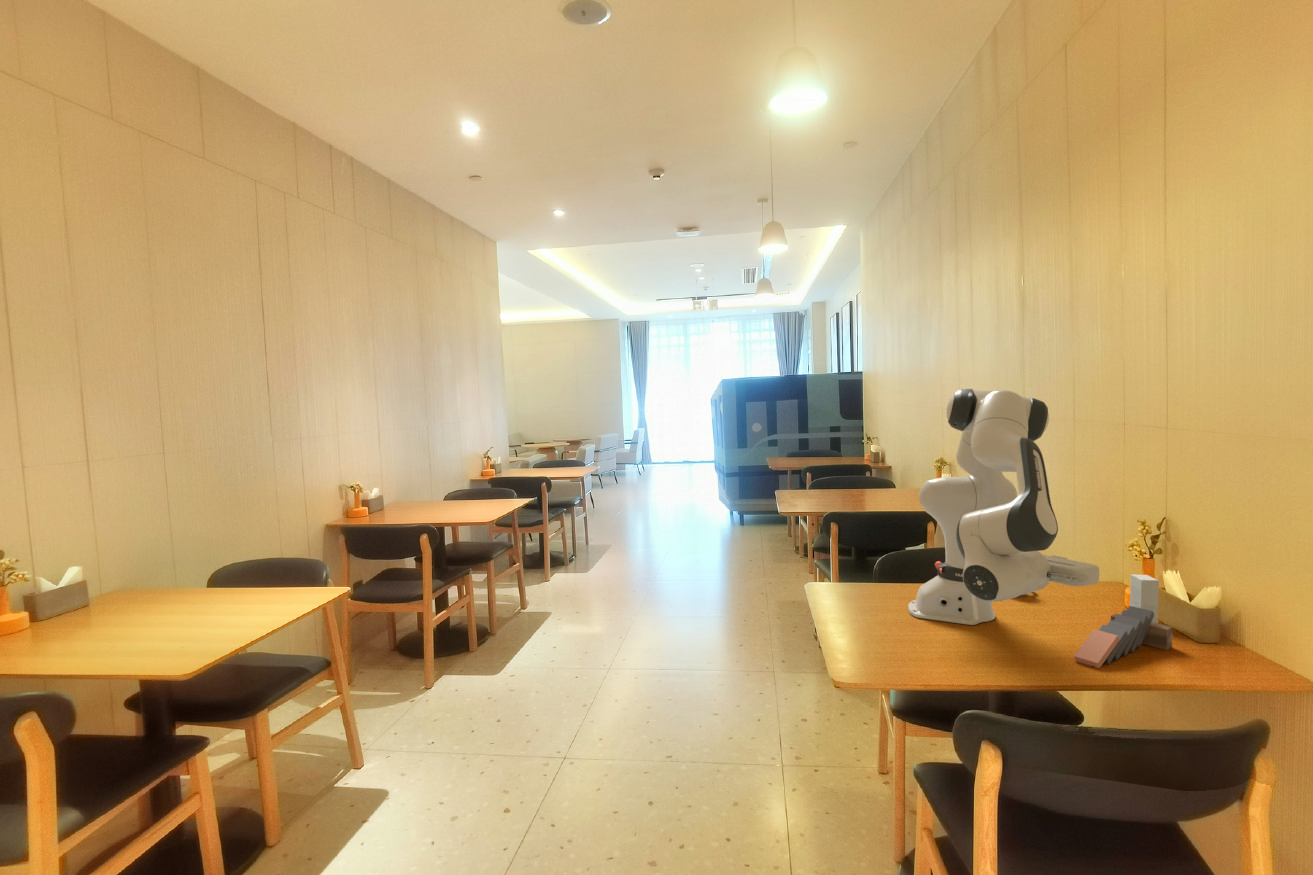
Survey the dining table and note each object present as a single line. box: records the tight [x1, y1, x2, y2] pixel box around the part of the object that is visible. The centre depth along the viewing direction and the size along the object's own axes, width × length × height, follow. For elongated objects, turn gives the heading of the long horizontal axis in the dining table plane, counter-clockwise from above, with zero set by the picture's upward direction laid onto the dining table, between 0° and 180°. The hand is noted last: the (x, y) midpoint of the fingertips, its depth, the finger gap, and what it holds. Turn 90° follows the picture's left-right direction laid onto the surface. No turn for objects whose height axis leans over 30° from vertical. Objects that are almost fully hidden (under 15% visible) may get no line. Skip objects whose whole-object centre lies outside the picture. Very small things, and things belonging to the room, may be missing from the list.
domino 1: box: [1073, 628, 1119, 669], centre depth 151 cm, size 2×5×10 cm
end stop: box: [1110, 613, 1173, 651], centre depth 162 cm, size 3×12×5 cm, turn 31°
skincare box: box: [1129, 574, 1160, 624], centre depth 175 cm, size 6×4×12 cm
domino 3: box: [1106, 619, 1135, 661], centre depth 154 cm, size 2×5×10 cm
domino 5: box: [1120, 609, 1148, 653], centre depth 158 cm, size 2×5×10 cm
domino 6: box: [1127, 605, 1154, 649], centre depth 160 cm, size 2×5×10 cm
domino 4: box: [1114, 613, 1142, 657], centre depth 157 cm, size 2×5×10 cm
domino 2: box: [1098, 624, 1128, 665], centre depth 153 cm, size 2×5×10 cm
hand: (1060, 560), depth 141 cm, fingers closed
